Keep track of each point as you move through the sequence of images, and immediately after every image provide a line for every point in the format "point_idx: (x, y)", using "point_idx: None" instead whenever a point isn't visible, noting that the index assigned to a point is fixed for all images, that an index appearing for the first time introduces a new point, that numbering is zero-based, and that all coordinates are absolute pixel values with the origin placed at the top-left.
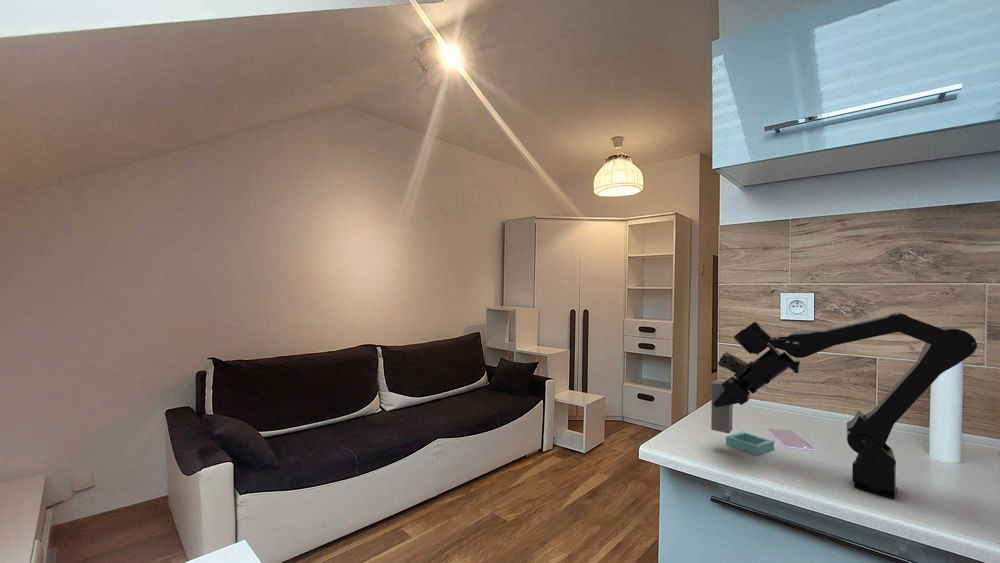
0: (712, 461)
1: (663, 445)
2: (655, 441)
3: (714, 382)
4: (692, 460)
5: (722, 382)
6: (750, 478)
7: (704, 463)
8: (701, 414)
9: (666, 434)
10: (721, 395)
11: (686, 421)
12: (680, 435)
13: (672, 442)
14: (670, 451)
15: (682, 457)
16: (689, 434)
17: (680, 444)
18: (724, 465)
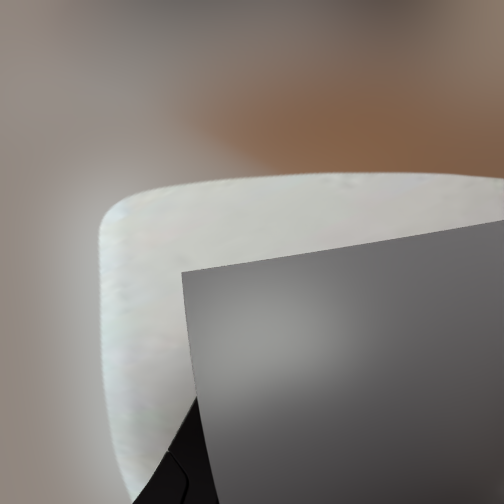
0: (154, 384)
1: (167, 216)
2: (182, 186)
3: (324, 305)
4: (114, 333)
5: (489, 425)
6: (128, 489)
7: (120, 369)
8: (500, 186)
9: (274, 177)
10: (157, 474)
11: (434, 175)
12: (307, 209)
13: (216, 221)
14: (134, 254)
15: (114, 301)
16: (344, 225)
17: (220, 247)
18: (154, 421)
